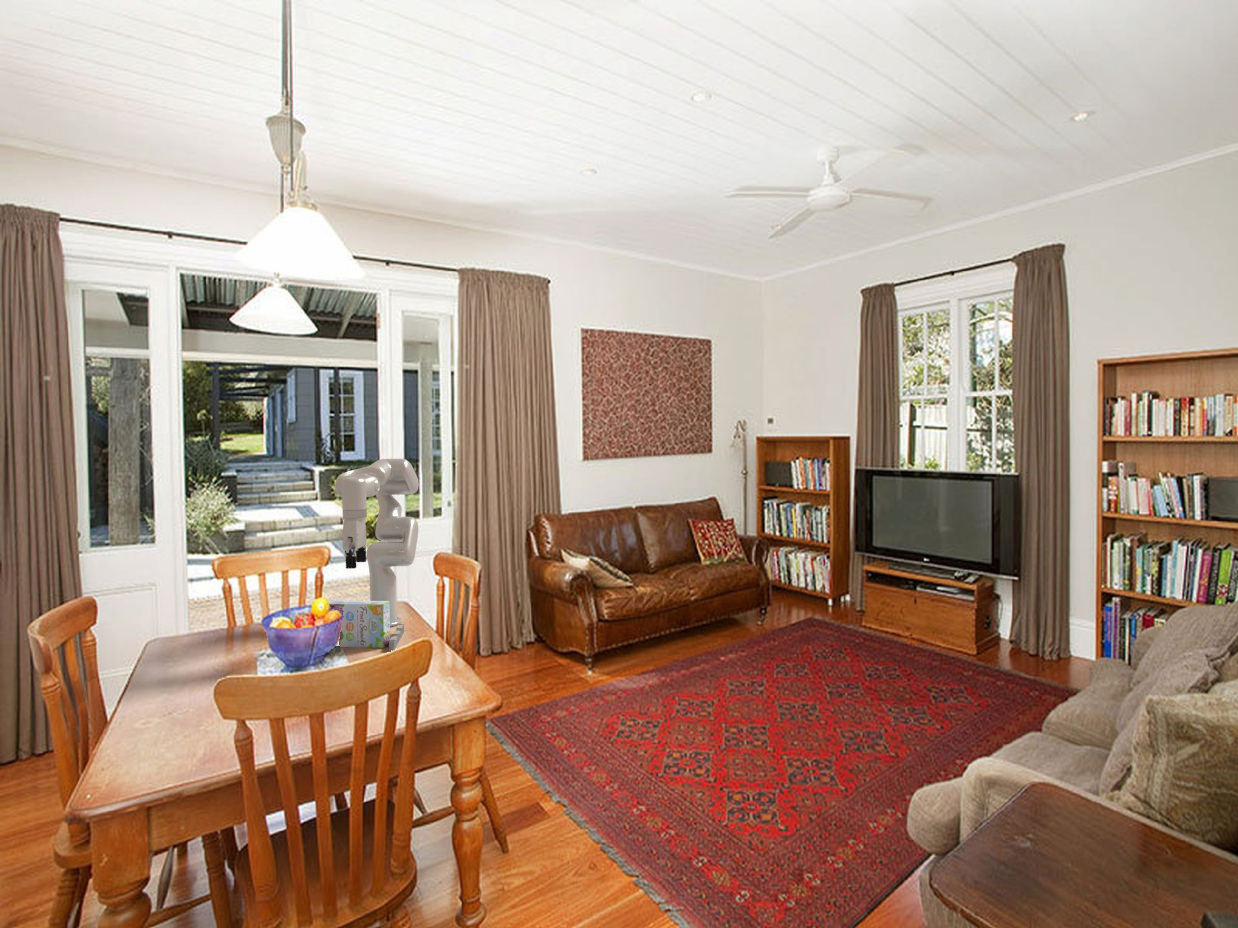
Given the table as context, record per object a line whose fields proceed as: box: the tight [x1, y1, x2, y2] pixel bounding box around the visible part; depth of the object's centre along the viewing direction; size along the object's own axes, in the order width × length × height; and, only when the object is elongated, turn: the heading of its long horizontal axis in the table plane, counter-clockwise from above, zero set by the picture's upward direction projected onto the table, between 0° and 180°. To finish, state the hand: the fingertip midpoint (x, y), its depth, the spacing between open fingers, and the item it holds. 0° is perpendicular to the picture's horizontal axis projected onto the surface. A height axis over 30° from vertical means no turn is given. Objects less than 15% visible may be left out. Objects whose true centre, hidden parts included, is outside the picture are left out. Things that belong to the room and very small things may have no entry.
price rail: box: [388, 623, 405, 652], centre depth 221 cm, size 22×2×3 cm, turn 10°
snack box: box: [327, 600, 391, 649], centre depth 216 cm, size 21×6×15 cm, turn 84°
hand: (356, 565), depth 213 cm, fingers open, 9 cm apart
